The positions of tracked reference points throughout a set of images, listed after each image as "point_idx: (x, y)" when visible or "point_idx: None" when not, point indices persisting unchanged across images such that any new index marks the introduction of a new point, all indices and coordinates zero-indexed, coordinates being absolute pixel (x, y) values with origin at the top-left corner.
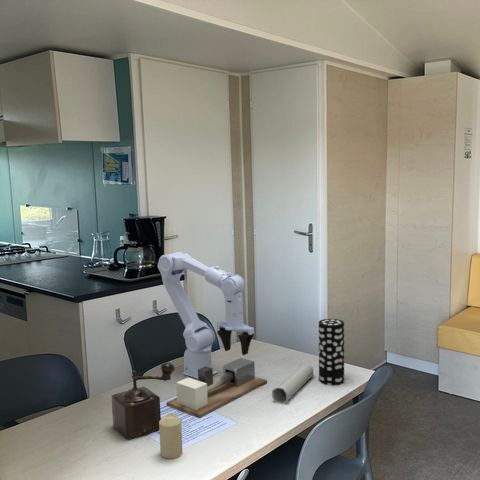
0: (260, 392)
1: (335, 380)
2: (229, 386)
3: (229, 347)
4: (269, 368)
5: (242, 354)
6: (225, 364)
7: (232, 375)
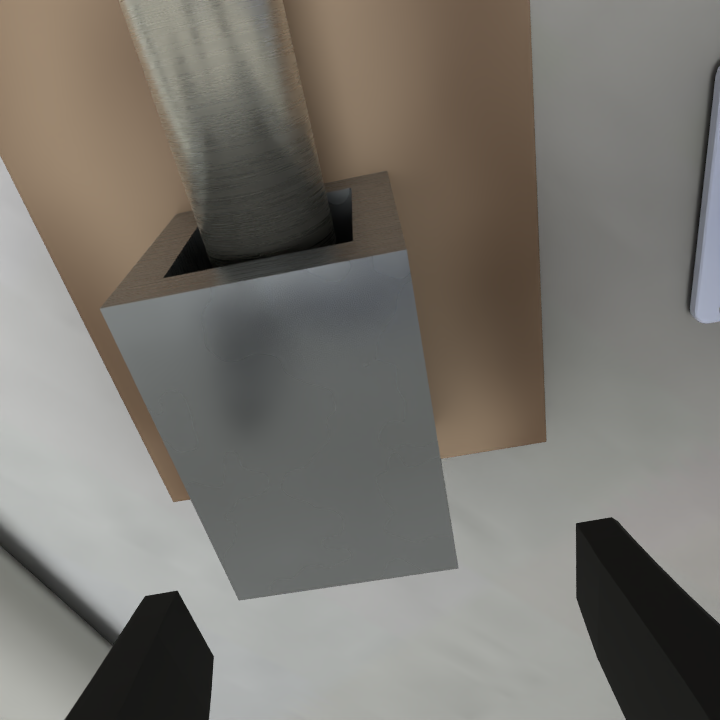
0: (19, 336)
1: None
2: None
3: (593, 625)
4: (406, 626)
5: (167, 597)
6: (412, 306)
7: (204, 236)
